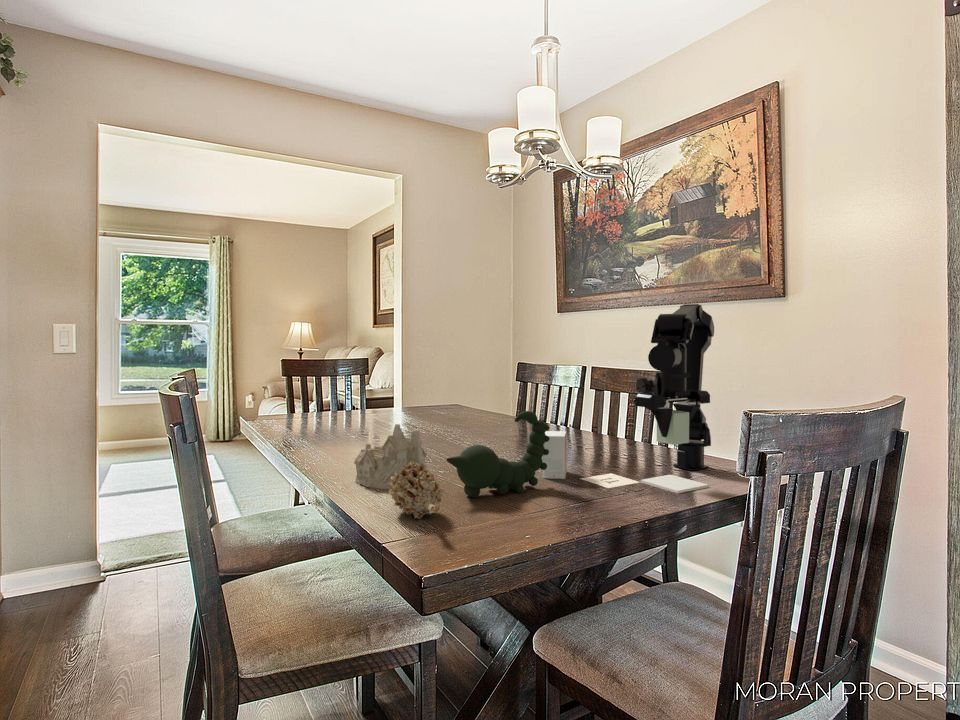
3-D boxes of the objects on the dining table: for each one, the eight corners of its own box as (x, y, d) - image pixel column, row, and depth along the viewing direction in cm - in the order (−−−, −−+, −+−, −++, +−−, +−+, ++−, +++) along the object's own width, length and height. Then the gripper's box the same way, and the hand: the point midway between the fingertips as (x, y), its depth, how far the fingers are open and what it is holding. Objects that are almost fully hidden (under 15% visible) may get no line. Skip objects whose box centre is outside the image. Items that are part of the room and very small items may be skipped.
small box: (565, 479, 136) (565, 436, 136) (542, 478, 137) (542, 435, 137) (567, 471, 144) (566, 430, 144) (545, 471, 145) (544, 430, 145)
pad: (670, 476, 138) (670, 474, 138) (708, 487, 129) (708, 484, 129) (640, 482, 133) (640, 479, 133) (677, 493, 124) (677, 490, 124)
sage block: (672, 439, 134) (672, 409, 134) (689, 442, 130) (689, 412, 129) (656, 441, 132) (656, 411, 131) (673, 444, 127) (673, 413, 127)
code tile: (611, 474, 142) (611, 473, 142) (640, 483, 133) (640, 482, 133) (579, 480, 137) (579, 478, 137) (608, 489, 128) (608, 488, 128)
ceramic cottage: (441, 478, 138) (435, 417, 138) (388, 495, 126) (382, 428, 125) (399, 472, 149) (394, 415, 148) (347, 487, 136) (341, 426, 136)
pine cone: (380, 507, 115) (379, 459, 115) (424, 501, 120) (424, 454, 119) (418, 542, 96) (417, 484, 95) (469, 533, 100) (469, 477, 100)
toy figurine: (529, 488, 135) (434, 493, 123) (535, 409, 135) (440, 406, 123) (553, 497, 127) (453, 504, 115) (559, 413, 127) (460, 411, 115)
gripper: (674, 365, 141) (674, 427, 142) (617, 368, 132) (617, 434, 133) (712, 367, 132) (711, 434, 132) (653, 370, 123) (653, 442, 123)
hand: (672, 435), depth 131 cm, fingers closed on sage block, 5 cm apart
